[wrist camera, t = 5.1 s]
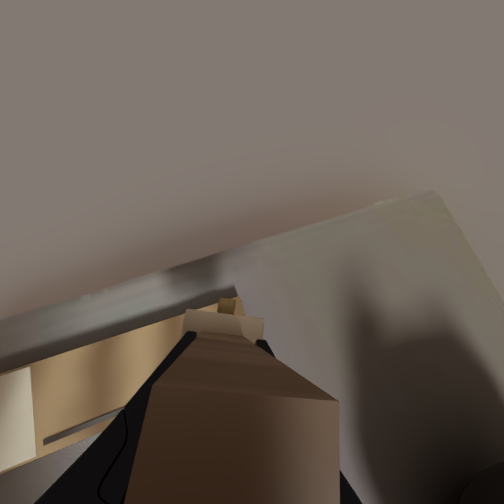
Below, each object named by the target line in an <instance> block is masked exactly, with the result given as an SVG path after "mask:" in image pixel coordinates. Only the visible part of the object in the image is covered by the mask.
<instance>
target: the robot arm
mask: <svg viewBox="0 0 504 504" xmlns="http://www.w3.org/2000/svg"><path fill="white" fill-rule="evenodd" d="M196 338H197V332H195V331H187V332H186V333H185V334H184V336H183V337H182V338H181V339H180V340H179V342H178V343H177V344H176V345H175V346H174V348H173V349H172V350H171V351H170V352H169V354H168V355H167V356H166V357H165V358H164V360H163V361H162V362H161V363H160V364H159V366H158V367H157V368H156V369H155V370H154V372H153V373H152V374H151V375H150V376H149V378H148V379H147V380H146V381H145V382H144V384H143V385H142V386H141V387H140V388H139V390H138V391H137V392H136V393H135V394H134V396H133V397H132V398H131V399H130V400H129V402H128V403H127V404H126V405H125V406H124V409H122V410H121V411H120V412H119V413H118V415H117V416H116V417H115V418H114V419H113V421H112V422H111V423H110V424H109V425H108V426H107V427H106V429H105V430H104V431H103V432H102V433H101V434H100V435H99V437H98V438H97V439H96V440H95V441H94V442H93V443H92V444H91V445H90V446H89V447H88V448H87V449H86V451H85V452H84V453H83V454H82V455H81V456H80V457H79V458H78V459H77V460H76V461H75V462H74V463H73V464H72V465H71V466H70V467H69V468H68V469H67V470H66V471H65V472H64V473H63V474H62V475H61V476H60V477H59V478H58V479H57V480H56V482H55V483H54V484H53V485H52V486H51V487H50V488H49V489H48V490H47V491H46V492H45V493H44V494H43V495H42V496H41V497H40V498H39V499H38V500H37V501H36V502H35V503H34V504H124V501H125V497H126V493H127V489H128V484H129V480H130V476H131V472H132V468H133V464H134V459H135V455H136V451H137V447H138V443H139V439H140V434H141V430H142V426H143V422H144V418H145V414H146V409H147V405H148V401H149V397H150V393H151V389H152V385H153V384H154V383H155V382H156V381H157V380H158V379H159V378H160V377H161V375H162V374H163V373H164V372H165V371H166V370H167V369H168V368H169V367H170V366H171V365H172V363H173V362H174V361H175V360H176V359H177V358H178V357H179V356H180V355H181V354H182V353H183V351H184V350H185V349H186V348H187V347H188V346H189V345H190V344H191V343H192V342H193V341H194V339H196ZM255 345H257V346H258V347H260V348H261V349H263V350H264V351H266V352H267V353H269V354H270V355H272V356H273V357H275V356H274V354H273V352H272V350H271V349H270V347H269V345H268V343H267V341H266V340H263V339H257V340H256V342H255ZM340 504H362V502H361V501H360V499H359V498H358V496H357V495H356V493H355V492H354V490H353V489H352V487H351V486H350V484H349V483H348V481H347V480H346V478H345V477H344V475H343V474H342V472H341V471H340Z"/></svg>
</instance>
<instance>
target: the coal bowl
mask: <svg viewBox="0 0 504 504" xmlns="http://www.w3.org/2000/svg"><path fill="white" fill-rule="evenodd" d="M458 504H504V462H502V463H498V464H496V465H493V466H491V467H489V468H487V469H485V470H483V471H482V472H480V473H479V474H478V475H477V476H476V477H475V478H473V479H472V480H471V482H470V483H469V484H468V485H467V487H466V488H465V490H464V492H463V493H462V495H461V498H460V500H459V503H458Z"/></svg>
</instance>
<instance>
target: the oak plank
mask: <svg viewBox="0 0 504 504" xmlns="http://www.w3.org/2000/svg"><path fill="white" fill-rule="evenodd" d="M231 299H234V300H236V305H235V312H234V315H239V316H245V313H244V310H243V307H242V303H241V300H240V297H239V296H237V297H234V298H231ZM217 308H218V303H215V304H212V305H209V306H206V307H203V308H200V309H197V310H201V311H209V312H216V313H217ZM184 317H185V314H182V315H179V316H175V317H172V318H169V319H166V320H163V321H160V322H157V323H154V324H151V325H148V326H145V327H142V328H139V329H136V330H132V331H129V332H126V333H123V334H120V335H117V336H114V337H111V338H108V339H105V340H102V341H99V342H96V343H93V344H89V345H86V346H83V347H80V348H77V349H74V350H71V351H68V352H65V353H62V354H59V355H56V356H53V357H50V358H47V359H43V360H40V361H37V362H34V363H31V364H28V365H25V366H22V367H19V368H16V369H13V370H10V371H7V372H4V373H0V474H2V473H5V472H7V471H9V470H12V469H14V468H17V467H19V466H21V465H24V464H26V463H28V462H31V461H33V460H36V459H38V458H40V457H43V456H45V455H47V454H50V453H52V452H55V451H57V450H59V449H62V448H64V447H66V446H69V445H71V444H74V443H76V442H78V441H81V440H83V439H85V438H88V437H90V436H93V435H95V434H97V433H100V432H102V431H104V430H105V429H106V427H107V426H108V425H109V424H110V423H111V422H112V421H113V419H114V418H115V417H116V416H117V415H118V413H119V412H120V411H121V410H122V409H124V406H125V405H126V404H127V403H128V402H129V400H130V399H131V398H132V397H133V396H134V394H135V393H136V392H137V391H138V390H139V388H140V387H141V386H142V385H143V384H144V382H145V381H146V380H147V379H148V378H149V376H150V375H151V374H152V373H153V372H154V370H155V369H156V368H157V367H158V366H159V364H160V363H161V362H162V361H163V360H164V358H165V357H166V356H167V355H168V354H169V352H170V351H171V350H172V349H173V348H174V346H175V345H176V344H177V343H178V342H179V340H180V335H181V330H182V326H183V321H184Z"/></svg>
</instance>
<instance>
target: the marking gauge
mask: <svg viewBox="0 0 504 504" xmlns="http://www.w3.org/2000/svg"><path fill="white" fill-rule="evenodd" d="M235 305H236V300H234V299H228V298H219V302H218V308H217V313H216V312H209V311H201V310H193V309H186V312H185V317H184V321H183V326H182V330H181V335H180V339H181V338H182V337H183V336H184V334H185V333H186V332H187V331H195V332H197V338H196V339H194V341H193V342H192V343H191V344H190V345H189V346H188V347H187V348H186V349H185V350H184V351H183V353H182V354H181V355H180V356H179V357H178V358H177V359H176V360H175V361H174V362H173V363H172V365H171V366H170V367H169V368H168V369H167V370H166V371H165V372H164V373H163V374H162V375H161V377H160V378H159V379H158V380H157V381H156V382H155V383H154V384H153V385H152V389H151V393H150V397H149V401H148V405H147V409H146V414H145V418H144V422H143V426H142V430H141V434H140V439H139V443H138V447H137V451H136V455H135V459H134V464H133V468H132V472H131V476H130V480H129V484H128V489H127V493H126V497H125V501H124V504H340V465H339V401H338V400H336V399H335V398H333V397H332V396H330V395H329V394H327V393H326V392H324V391H323V390H321V389H320V388H319V387H317V386H316V385H314V384H313V383H311V382H310V381H308V380H307V379H305V378H304V377H302V376H301V375H300V374H298V373H297V372H295V371H294V370H292V369H291V368H289V367H288V366H286V365H285V364H283V363H282V362H281V361H279V360H278V359H276V358H275V357H273V356H272V355H270V354H269V353H267V352H266V351H264V350H263V349H261V348H260V347H258V346H257V345H255V342H256V340H257V339H263V328H264V319H262V318H254V317H247V316H239V315H234V312H235Z"/></svg>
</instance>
